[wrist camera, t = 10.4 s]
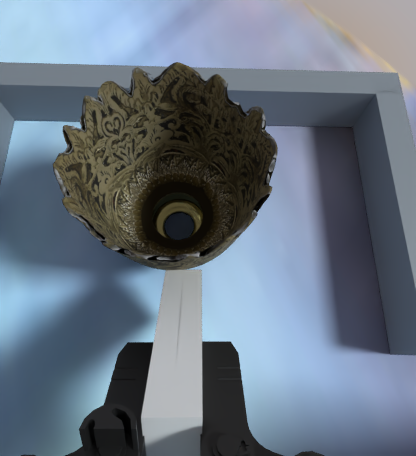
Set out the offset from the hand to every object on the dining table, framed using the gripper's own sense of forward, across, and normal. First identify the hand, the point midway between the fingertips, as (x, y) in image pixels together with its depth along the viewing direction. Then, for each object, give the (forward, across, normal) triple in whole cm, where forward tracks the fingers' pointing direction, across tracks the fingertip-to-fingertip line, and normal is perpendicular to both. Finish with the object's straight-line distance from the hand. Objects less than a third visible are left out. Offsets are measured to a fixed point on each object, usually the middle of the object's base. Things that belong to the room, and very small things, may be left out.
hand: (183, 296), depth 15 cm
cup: (+5, 0, +1) cm, 5 cm away
